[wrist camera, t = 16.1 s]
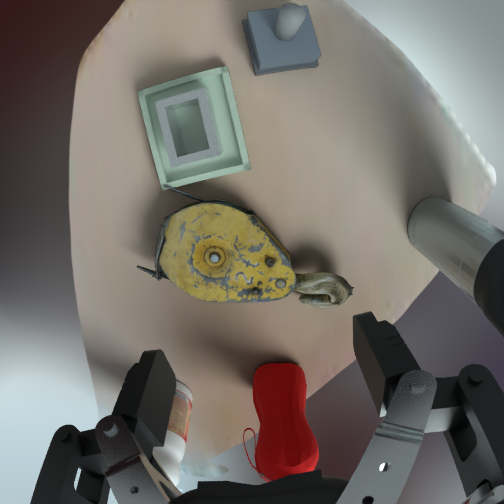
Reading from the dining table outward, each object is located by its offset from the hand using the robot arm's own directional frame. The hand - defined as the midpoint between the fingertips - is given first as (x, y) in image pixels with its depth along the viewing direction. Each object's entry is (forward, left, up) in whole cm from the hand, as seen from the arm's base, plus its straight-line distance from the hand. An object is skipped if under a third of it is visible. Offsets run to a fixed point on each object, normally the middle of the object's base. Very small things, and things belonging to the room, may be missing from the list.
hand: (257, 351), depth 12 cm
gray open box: (+5, -10, -30) cm, 32 cm away
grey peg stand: (-8, -19, -30) cm, 36 cm away
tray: (+5, -10, -30) cm, 32 cm away
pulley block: (+2, +10, -30) cm, 32 cm away
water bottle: (+3, +34, -30) cm, 46 cm away
